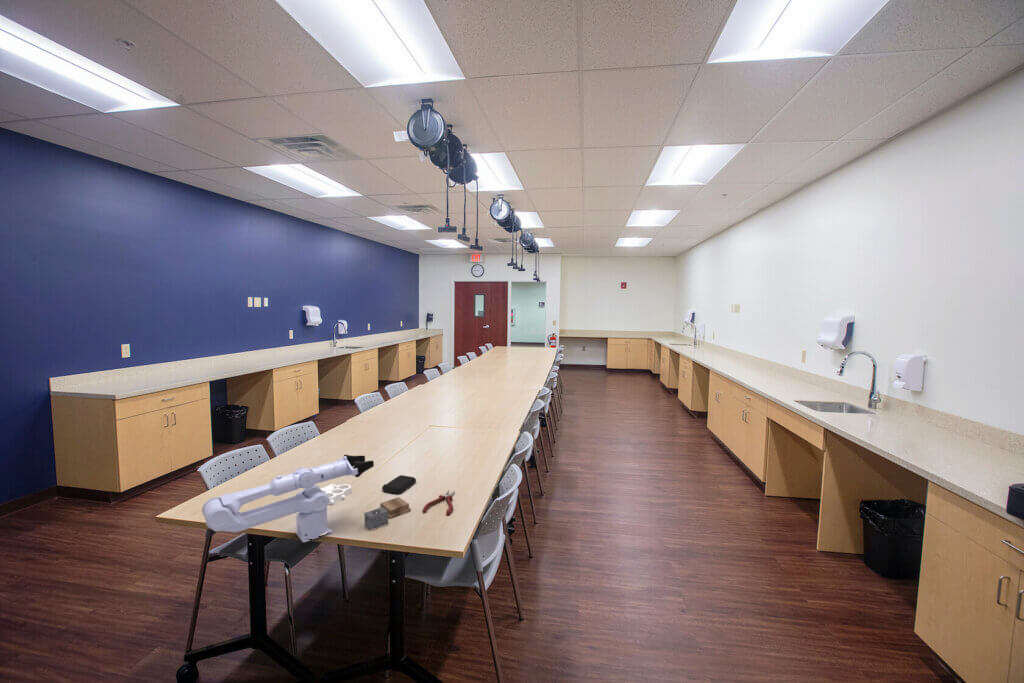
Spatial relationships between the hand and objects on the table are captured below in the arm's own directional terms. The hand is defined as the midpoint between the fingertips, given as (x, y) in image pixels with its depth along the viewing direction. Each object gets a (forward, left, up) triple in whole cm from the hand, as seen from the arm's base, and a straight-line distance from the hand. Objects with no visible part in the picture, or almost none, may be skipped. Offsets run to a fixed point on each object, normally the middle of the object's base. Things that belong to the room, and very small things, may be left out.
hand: (368, 460), depth 156 cm
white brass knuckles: (-6, +24, -22) cm, 33 cm away
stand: (+9, -4, -21) cm, 23 cm away
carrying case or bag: (+21, +15, -22) cm, 34 cm away
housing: (-1, -9, -21) cm, 23 cm away
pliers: (+27, -13, -22) cm, 37 cm away
